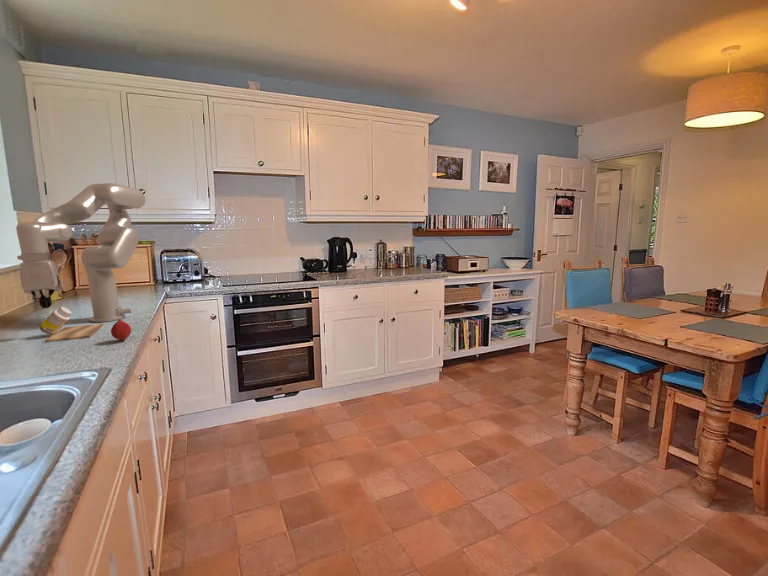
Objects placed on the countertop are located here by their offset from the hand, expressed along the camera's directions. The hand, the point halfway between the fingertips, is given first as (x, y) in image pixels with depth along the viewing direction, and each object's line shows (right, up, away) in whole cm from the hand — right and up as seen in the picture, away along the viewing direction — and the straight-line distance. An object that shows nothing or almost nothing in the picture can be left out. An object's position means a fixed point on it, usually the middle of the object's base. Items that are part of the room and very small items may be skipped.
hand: (46, 307), depth 143 cm
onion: (+32, -12, -6) cm, 35 cm away
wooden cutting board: (+8, -10, +4) cm, 13 cm away
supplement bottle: (-1, -9, +1) cm, 9 cm away
